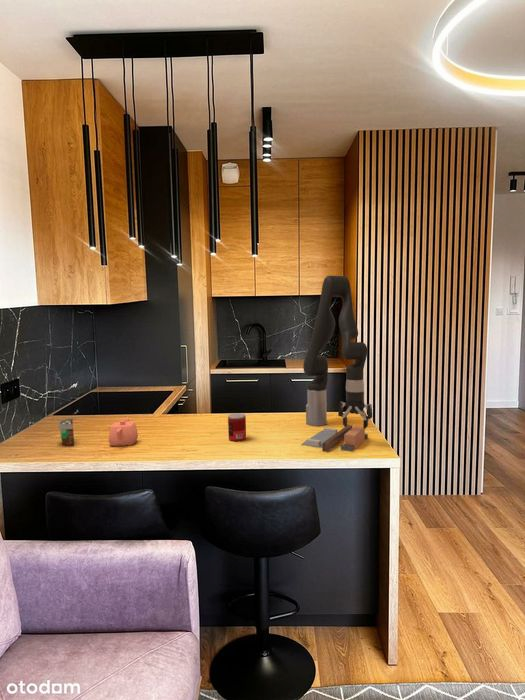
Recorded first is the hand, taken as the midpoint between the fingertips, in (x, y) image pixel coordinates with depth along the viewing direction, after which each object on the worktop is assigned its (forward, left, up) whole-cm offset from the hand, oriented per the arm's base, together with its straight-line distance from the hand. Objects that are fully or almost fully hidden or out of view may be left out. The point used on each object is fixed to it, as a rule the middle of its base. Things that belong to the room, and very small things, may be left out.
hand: (355, 427), depth 217 cm
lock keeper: (-15, 0, -7) cm, 17 cm away
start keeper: (0, 0, -7) cm, 7 cm away
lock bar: (0, 0, -8) cm, 8 cm away
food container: (-115, -54, -8) cm, 127 cm away
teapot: (-92, -42, -8) cm, 102 cm away
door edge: (-8, 0, -7) cm, 11 cm away
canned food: (-49, -16, -8) cm, 52 cm away
